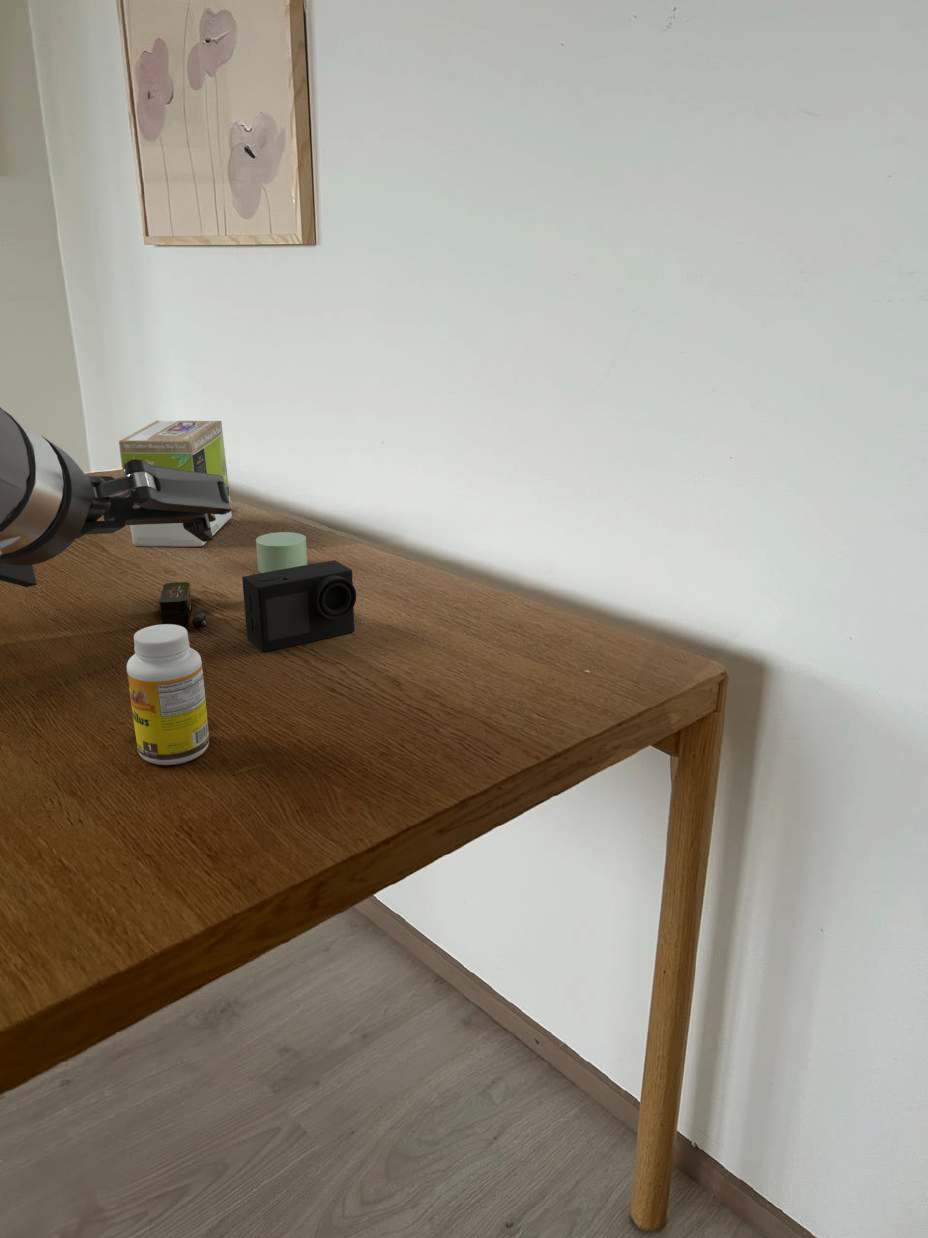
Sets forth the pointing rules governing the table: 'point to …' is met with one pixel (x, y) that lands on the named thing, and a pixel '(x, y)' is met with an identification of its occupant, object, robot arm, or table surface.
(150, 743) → the supplement bottle
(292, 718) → the table surface
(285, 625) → the digital camera
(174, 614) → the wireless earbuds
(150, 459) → the tea box
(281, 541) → the pale green cylinder
